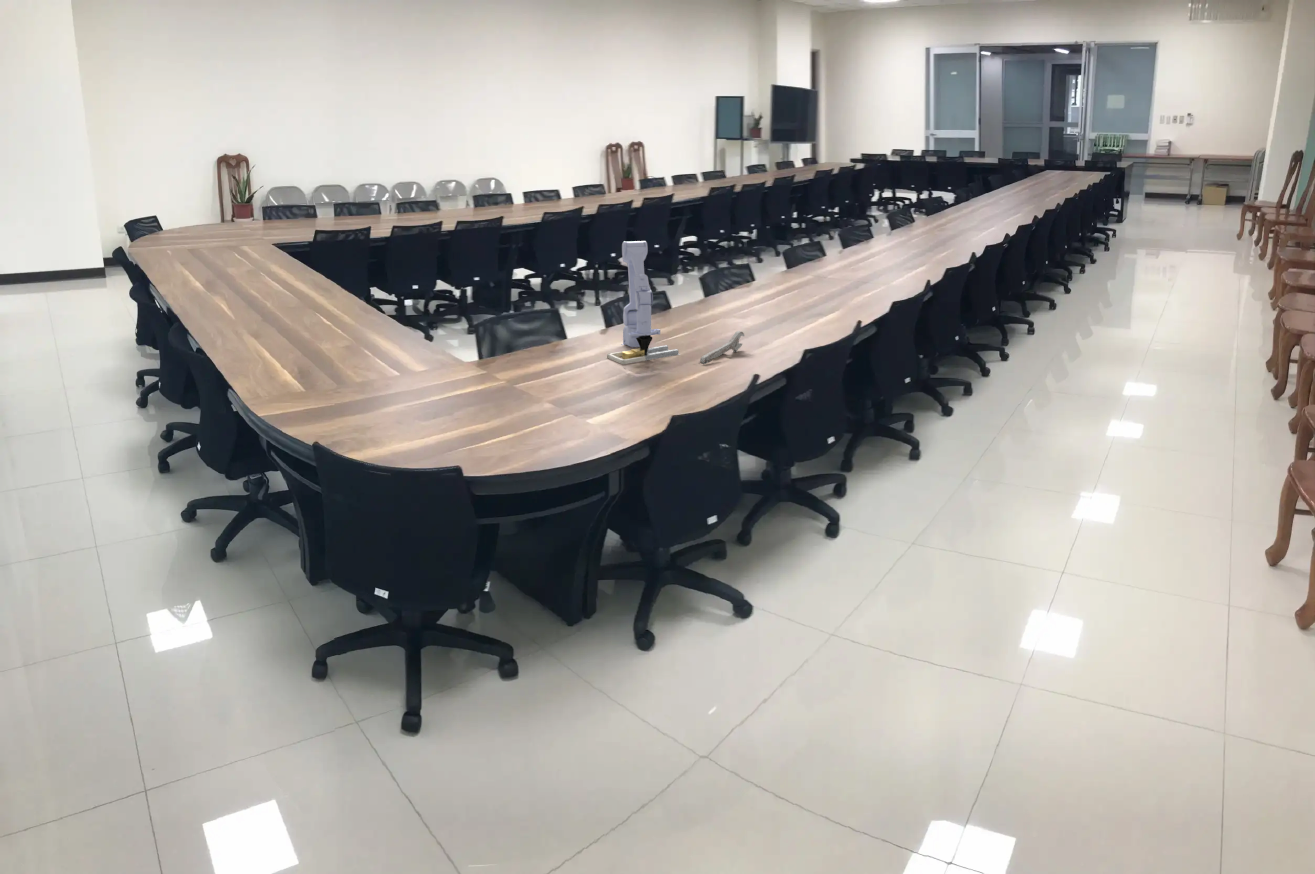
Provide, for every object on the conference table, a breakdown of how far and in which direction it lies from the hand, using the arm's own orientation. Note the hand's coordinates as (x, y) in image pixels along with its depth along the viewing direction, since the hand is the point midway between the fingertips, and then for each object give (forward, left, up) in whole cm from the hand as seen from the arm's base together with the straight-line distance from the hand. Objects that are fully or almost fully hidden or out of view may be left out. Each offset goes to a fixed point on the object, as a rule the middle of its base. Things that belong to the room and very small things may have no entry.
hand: (644, 354), depth 367 cm
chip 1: (0, -7, -1) cm, 7 cm away
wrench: (+15, +28, -2) cm, 32 cm away
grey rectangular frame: (0, -8, -2) cm, 9 cm away
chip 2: (0, -3, -1) cm, 3 cm away
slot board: (0, +5, -2) cm, 6 cm away
